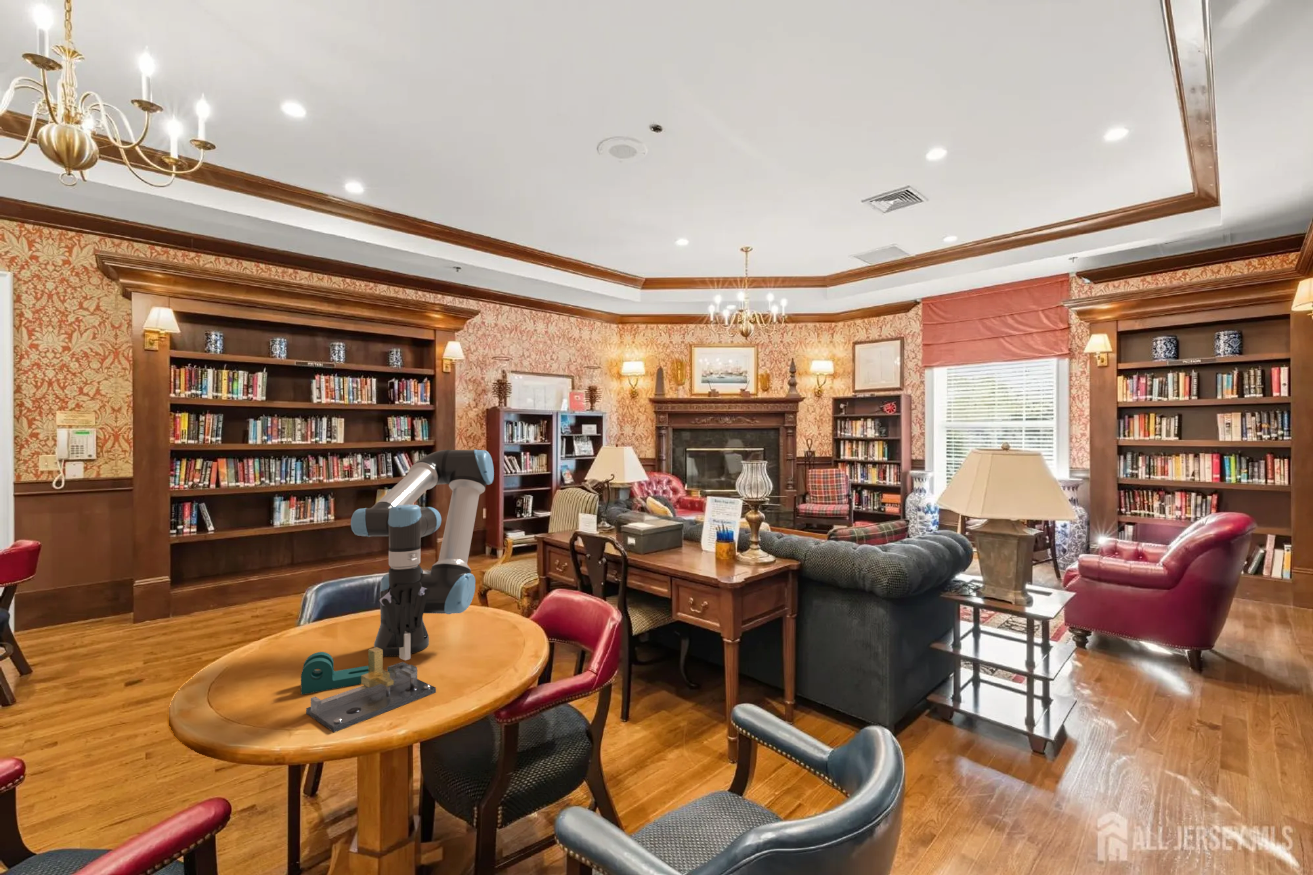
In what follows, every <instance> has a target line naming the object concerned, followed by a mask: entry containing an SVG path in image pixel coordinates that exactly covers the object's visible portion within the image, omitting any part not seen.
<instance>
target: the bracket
mask: <svg viewBox="0 0 1313 875" xmlns="http://www.w3.org/2000/svg"><path fill="white" fill-rule="evenodd" d="M334 663H335V662H334V658H333V657H332V655H331V654H330V653H328V652H326V651H325V652H324V651H319V652H314V653H312V654H310V655H308V657H307V658H306V659H305V661H304V663H303V666H302V669H301V675H300V695H301V696H302V695H307V694H313V693H318V692H323V691H330V690H335V689H340V688H341V689H342V688H346V687H351V686H356V685H358V686H359V685H362V684H361V675H364V674H367V673H368V665H363V666H359V667H357V666H356V667H352V668H346V669H339V670H334Z"/></svg>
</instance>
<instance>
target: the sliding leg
mask: <svg viewBox="0 0 1313 875" xmlns="http://www.w3.org/2000/svg"><path fill="white" fill-rule="evenodd" d="M367 650H368V656H367V657H368V665H367V666H368V673H367V674H364V675H361V684H360V685H362V686H363V685H365V686H367V687H369V688H371V687H373V686H376V685H379V684H383V685H385V686H386V697H389V696H390V685H393V684H394V680H392V679H390V673H389V672H387V670H386V669H384V667H383V666H384V665H383V663H384V660H383V659H384V658H383V657H384V656H383V650H382V649H380V648H378V647H375V648H374V647H373V648H369V649H367Z"/></svg>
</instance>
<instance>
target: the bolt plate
mask: <svg viewBox="0 0 1313 875" xmlns="http://www.w3.org/2000/svg"><path fill="white" fill-rule="evenodd" d="M435 693H437V687H435V686H434V685H432V684H430V683H428V682H425V681H423V680H421V679H418V678H417V679H416V680H414V689H410V681H408V682H405V683H402V684H399V685H397V686H394V687H391V688H390V696H389V697H386V689H385V690H383V691H380V692H377V693H374V694H372V695H369V696H366V697H363V698H360V699H358V700H355V701H352V702H349V703H346V704H344V705H341V706H338V707H335V708H333V709H330V710H327V711H324V712H321V714H319V715H315V714H314V713H312V712H311V706H309V707H306V708H305V714H306V715H307V716H308V717H311V718H312V719H314V720H315V721H316V722H318V723H320V724H321V725H322V726H324V727H325V728H327V729H328V730H330V731H331V732H333V733H336V732H338V731H341V730H345V729H347V728H349V727H350V726H353V725H356V724H359V723H361V722H364V721H366V720H369V719H371V718H374V717H376V716H380V715H382V714H384V713H387V712H389V711H392V710H394V709H397V708H399V707H403V706H405V705H407V704H410V703H412V702H416V701H417V700H420V699H422V698H425V697H428V696H430V695H433V694H435Z"/></svg>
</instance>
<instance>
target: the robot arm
mask: <svg viewBox="0 0 1313 875" xmlns="http://www.w3.org/2000/svg"><path fill="white" fill-rule="evenodd" d="M494 471H495V469H494V463H493V458H492V456H491V454H490V453H489V451H487V450H485V449H477V448H476V449H442V450H436V451H434V452H431V453H429V454H427V455H425V456H424V457H422V458H420V459H419V460H417V461H416V462H415V463H413V464H412V465H411V466H410V468H409V470H408V473H407V474H406V475H405V476H404V477H403V478H402V479H400V481H399V482H397V484H395V485H394V486H393V487H392V488H391V489H390V490H389V491H388V492H387V493H385V495H383V496H382V497H381V498H380V499H379V500H378V501H377V502H376V503H375V504H373V506H372V507H369V508H368V507H365V508H358V509H356V510H355V511H354V512H353V513H352V516H351V520H350V528H351V531H352V532H353V533H354V535H355V536H359V537H360V536H361V537H368V538H370V537H388V566H389V568H388V573H386V574H384V575H383V576H382V577H381V580H380V586H379V587H380V590H379V592H380V595H379V598H378V599H377V601H378V603H379V604H380V605H379V606H380V607H379V608H380V625H379V628H378V632H377V635H376V637H375V640H374V643H373V648H375V647H378V648H380V649H382V650H383V657H399V659H401V660H403V661H408V660H410V659H412V658H411V657H412V656H411V655H412V654H414V653H415V654H416V653H417V652H421V651H422V650H424V649H426V648H427V647H429V643H430V637H429V636H430V635H429V633H428V631H427V628H426V625H425V621H424V619H423V616H424V614H438V615H439V614H441V615H442V614H443V615H444V614H446V615H452V614H461V613H464V612H465V611H466V610H467V609H468V608H469V606H470V605H471V604H472V601H473V599H474V596H475V593H476V592H475V591H476V577H475V576H474V574H473V573H472V568H470V566H469V565H468V562H469V561H468V560H469V555H470V550H471V543H472V538H473V532H474V528H475V523H476V522H475V521H476V518H477V517H476V516H477V510H478V505H479V499H480V495H481V494H483V493H484V492H485V491H486V487H487V485H488V486H489V485H491V484H493V482H494V477H495V476H494V475H495V472H494ZM436 485H439V486H440V485H448V487H449V489H450V490H451V491H452V492H451V496H450V501H449V502H450V503H449V507H448V512H447V517H446V521H445V526H444V532H443V536H442V541H441V545H440V550H439V557H438V561H436V562H435V563H434V564H432V565H431V568H430V573H424V570H423V568H422V567H421V566H420V565H421V561H422V560H421V559H422V558H421V556H422V555H421V553H422V552H421V548H422V547H421V546H422V542H421V540H422V539H421V538H423V537H426V536H429V535H432V534H433V533H435V532H436V531H438V529H439V528H440V527H441V524H442V516H441V513H440V512H439V510H438V509H436V508H434V507H432V506H422V507H420V506H419V505H418V504H415V502H417V501H418V499H419V498H421V496H422V495H423V494H424V493H425V492H426V491H427V490H431V489H433V488H434V487H435V486H436Z"/></svg>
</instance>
